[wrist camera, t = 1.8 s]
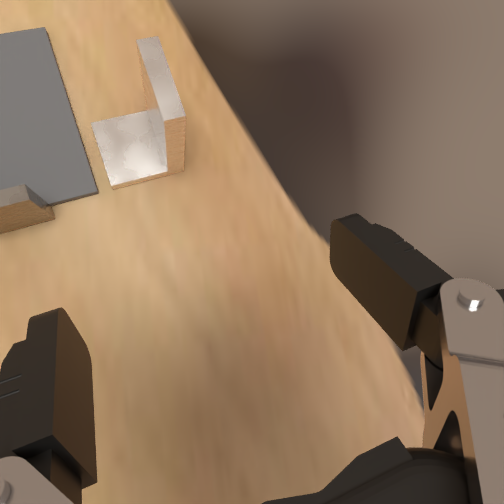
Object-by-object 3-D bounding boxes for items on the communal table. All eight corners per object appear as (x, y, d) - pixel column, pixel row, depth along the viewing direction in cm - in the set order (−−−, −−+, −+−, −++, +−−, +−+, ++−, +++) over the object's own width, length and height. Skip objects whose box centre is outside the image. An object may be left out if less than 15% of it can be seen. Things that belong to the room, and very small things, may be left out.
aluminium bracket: (113, 189, 33) (86, 138, 23) (93, 128, 33) (58, 53, 24) (183, 171, 34) (186, 115, 25) (163, 112, 35) (157, 36, 25)
